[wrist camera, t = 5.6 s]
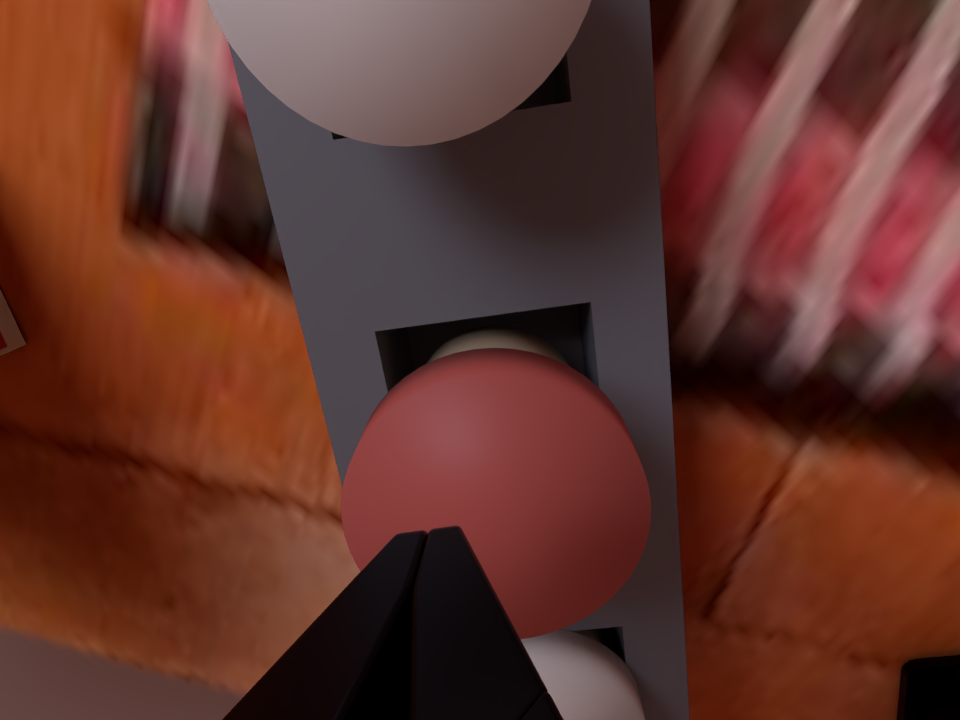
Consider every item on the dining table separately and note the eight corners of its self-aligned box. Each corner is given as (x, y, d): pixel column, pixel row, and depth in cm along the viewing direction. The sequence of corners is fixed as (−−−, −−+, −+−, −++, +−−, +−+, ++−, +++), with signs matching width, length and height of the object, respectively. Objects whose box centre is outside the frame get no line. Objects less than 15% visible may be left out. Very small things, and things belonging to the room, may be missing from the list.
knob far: (624, 669, 25) (655, 812, 20) (468, 683, 26) (459, 826, 20) (611, 536, 23) (642, 659, 18) (442, 555, 24) (425, 679, 18)
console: (659, 663, 26) (693, 782, 22) (437, 683, 27) (423, 802, 22) (596, -188, 17) (632, -305, 12) (255, -121, 17) (164, -206, 13)
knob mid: (616, 485, 19) (659, 626, 14) (409, 508, 19) (376, 653, 14) (597, 280, 17) (640, 354, 12) (366, 312, 17) (308, 398, 12)
